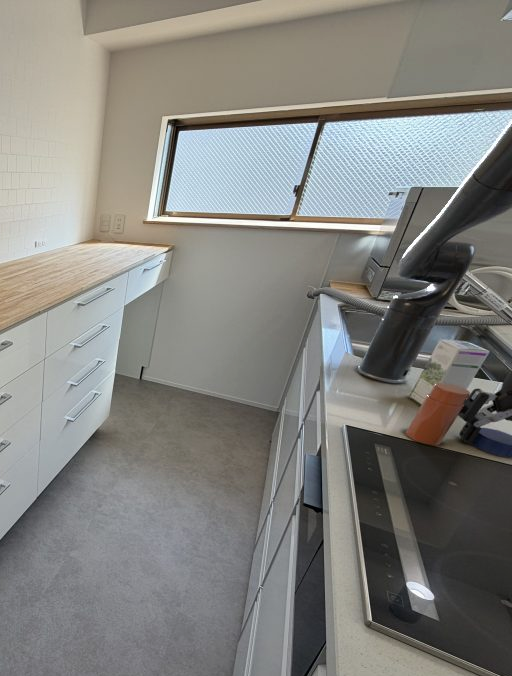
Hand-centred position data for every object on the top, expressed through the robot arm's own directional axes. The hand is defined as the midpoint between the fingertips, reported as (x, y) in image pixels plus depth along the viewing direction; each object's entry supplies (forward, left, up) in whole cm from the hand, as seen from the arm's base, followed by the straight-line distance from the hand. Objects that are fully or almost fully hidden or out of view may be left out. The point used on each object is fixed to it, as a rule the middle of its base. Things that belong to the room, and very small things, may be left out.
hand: (494, 447), depth 77 cm
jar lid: (0, 0, +2) cm, 2 cm away
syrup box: (-17, -3, 0) cm, 17 cm away
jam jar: (+2, -11, 0) cm, 12 cm away
